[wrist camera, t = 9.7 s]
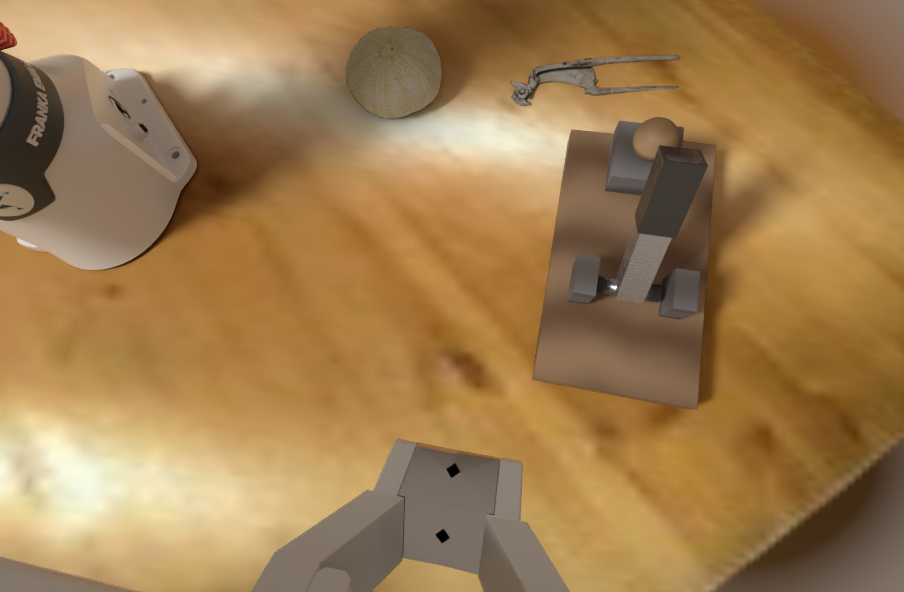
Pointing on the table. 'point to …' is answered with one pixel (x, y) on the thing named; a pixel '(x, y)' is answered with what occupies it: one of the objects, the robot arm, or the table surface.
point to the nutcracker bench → (600, 253)
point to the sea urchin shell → (394, 72)
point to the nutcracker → (580, 76)
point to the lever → (656, 223)
